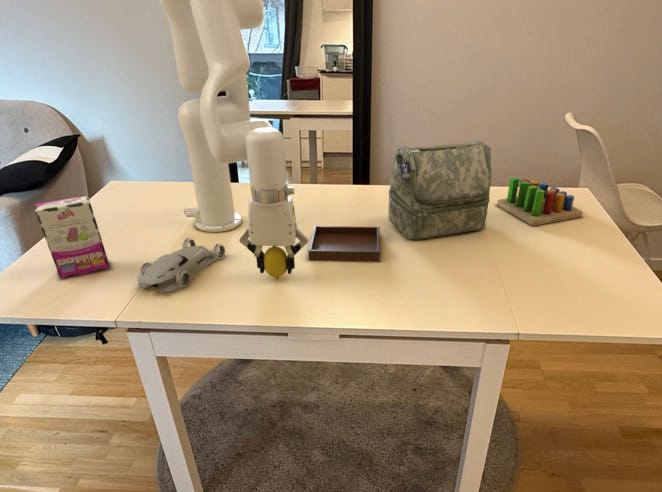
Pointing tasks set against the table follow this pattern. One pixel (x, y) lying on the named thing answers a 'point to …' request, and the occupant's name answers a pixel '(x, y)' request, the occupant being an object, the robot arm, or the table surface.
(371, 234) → the walnut tray
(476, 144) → the lunch bag
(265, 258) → the lemon
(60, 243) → the candy bar box
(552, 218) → the peg board
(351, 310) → the table surface
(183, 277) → the car model
